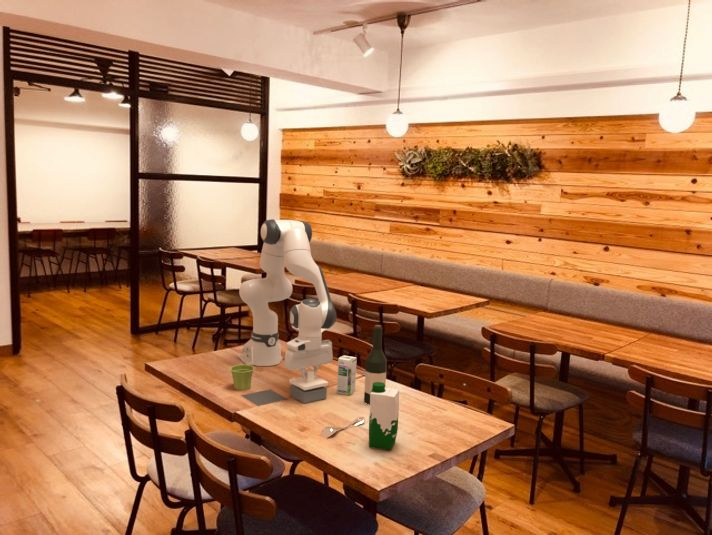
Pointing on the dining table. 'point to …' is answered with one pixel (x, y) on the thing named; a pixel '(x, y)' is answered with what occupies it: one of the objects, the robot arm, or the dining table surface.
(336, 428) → the silver spoon
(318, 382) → the lid
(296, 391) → the dish
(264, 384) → the dining table surface
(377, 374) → the wine bottle
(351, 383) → the syrup box
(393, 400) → the milk carton
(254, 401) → the coaster
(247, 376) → the plant pot
